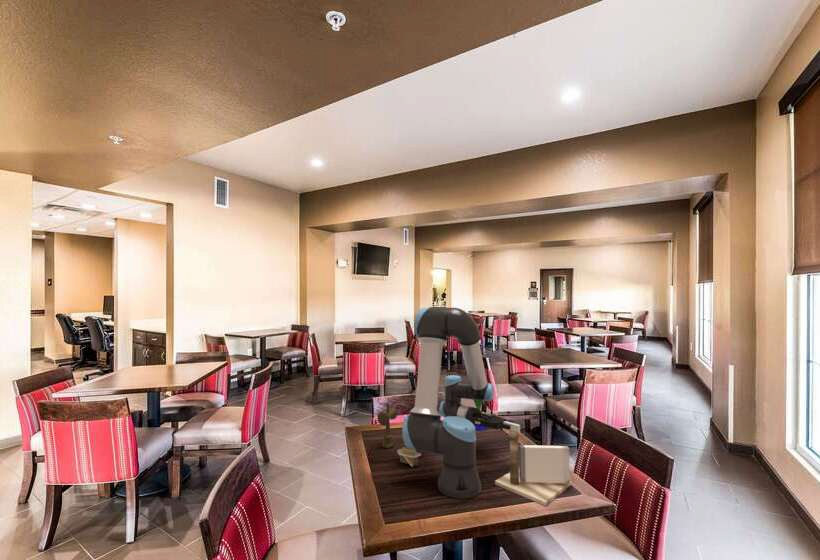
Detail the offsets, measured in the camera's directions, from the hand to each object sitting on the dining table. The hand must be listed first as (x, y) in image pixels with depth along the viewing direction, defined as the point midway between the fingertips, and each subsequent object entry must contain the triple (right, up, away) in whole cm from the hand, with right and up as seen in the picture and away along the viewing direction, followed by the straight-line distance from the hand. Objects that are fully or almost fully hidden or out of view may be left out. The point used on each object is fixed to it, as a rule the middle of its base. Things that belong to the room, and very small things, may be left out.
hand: (518, 428), depth 143 cm
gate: (+5, -13, -13) cm, 19 cm away
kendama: (-53, -17, +22) cm, 60 cm away
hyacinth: (-6, -19, +46) cm, 50 cm away
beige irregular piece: (-43, -17, +5) cm, 47 cm away
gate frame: (+2, -15, -11) cm, 19 cm away
